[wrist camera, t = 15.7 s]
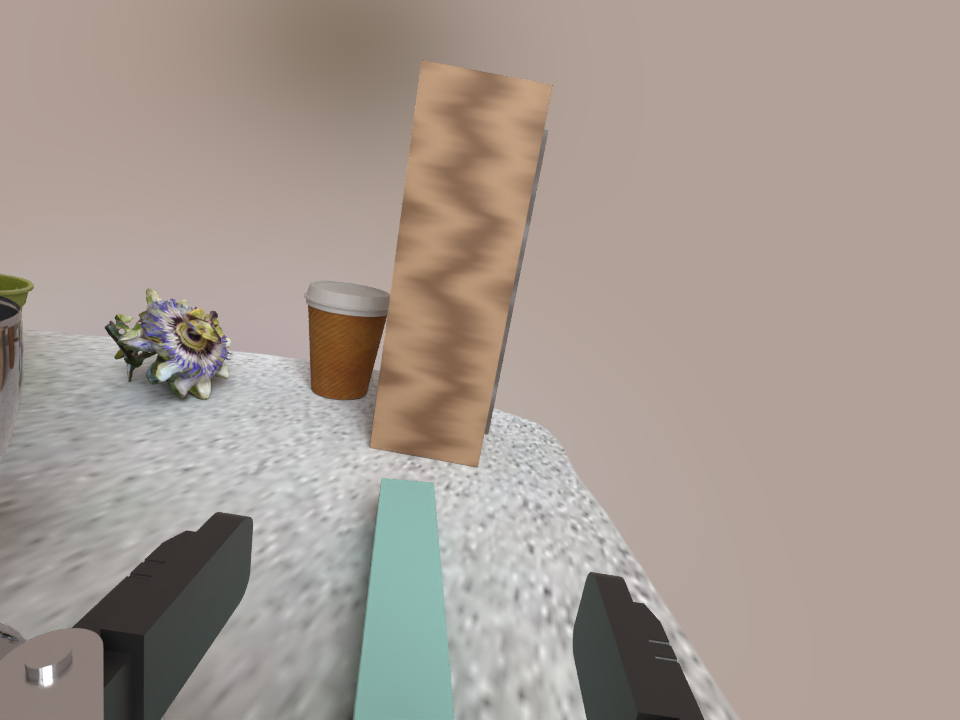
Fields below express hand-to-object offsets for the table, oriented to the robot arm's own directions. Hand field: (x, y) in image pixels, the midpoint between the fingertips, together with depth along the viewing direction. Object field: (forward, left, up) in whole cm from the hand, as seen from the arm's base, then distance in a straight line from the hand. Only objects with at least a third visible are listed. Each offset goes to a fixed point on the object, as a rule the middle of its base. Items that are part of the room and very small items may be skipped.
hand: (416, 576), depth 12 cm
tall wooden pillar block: (-3, +37, -12) cm, 39 cm away
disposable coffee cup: (-15, +44, -13) cm, 48 cm away
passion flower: (-30, +36, -13) cm, 48 cm away
